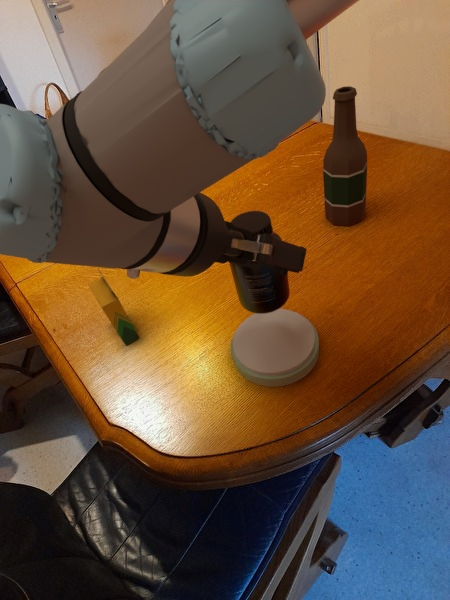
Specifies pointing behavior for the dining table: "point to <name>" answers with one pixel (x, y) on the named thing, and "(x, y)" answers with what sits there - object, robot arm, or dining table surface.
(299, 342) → the scale
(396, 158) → the dining table surface
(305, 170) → the dining table surface
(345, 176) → the beer bottle
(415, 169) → the dining table surface
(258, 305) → the supplement bottle
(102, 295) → the crayon box
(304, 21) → the robot arm
